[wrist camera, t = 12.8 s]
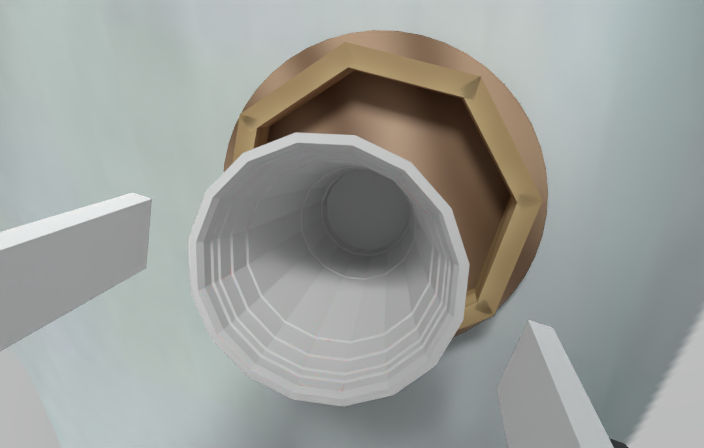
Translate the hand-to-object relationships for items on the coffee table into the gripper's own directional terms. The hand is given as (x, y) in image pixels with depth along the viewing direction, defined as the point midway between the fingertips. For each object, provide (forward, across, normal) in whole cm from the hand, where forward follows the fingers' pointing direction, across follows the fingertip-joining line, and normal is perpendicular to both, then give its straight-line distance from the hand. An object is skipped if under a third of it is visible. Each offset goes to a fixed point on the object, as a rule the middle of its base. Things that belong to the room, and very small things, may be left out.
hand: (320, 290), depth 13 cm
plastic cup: (+13, 0, -1) cm, 13 cm away
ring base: (+14, 0, -1) cm, 14 cm away
